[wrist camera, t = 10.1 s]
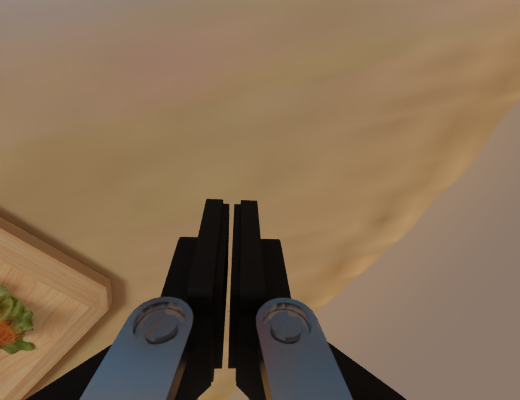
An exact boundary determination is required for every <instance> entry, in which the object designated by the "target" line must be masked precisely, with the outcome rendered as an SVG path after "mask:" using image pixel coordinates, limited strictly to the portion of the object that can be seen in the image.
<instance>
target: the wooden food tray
mask: <svg viewBox="0 0 520 400" xmlns="http://www.w3.org/2000/svg"><path fill="white" fill-rule="evenodd" d="M111 304H112V291H111V280H110V279H108V278H107V277H105V276H103V275H101V274H100V273H98V272H96V271H94V270H93V269H91V268H89V267H87V266H86V265H84V264H82V263H80V262H79V261H77V260H75V259H73V258H72V257H70V256H68V255H66V254H65V253H63V252H61V251H59V250H58V249H56V248H54V247H53V246H51V245H49V244H47V243H46V242H44V241H42V240H40V239H39V238H37V237H35V236H33V235H32V234H30V233H28V232H26V231H25V230H23V229H21V228H19V227H18V226H16V225H14V224H12V223H11V222H9V221H7V220H5V219H4V218H2V217H0V400H21V399H22V398H23V397H24V396H25V395H26V393H27V392H28V391H29V390H30V389H31V388H32V387H33V386H34V385H35V384H36V383H37V382H38V381H39V380H40V379H41V378H42V377H43V376H44V375H45V374H46V373H47V372H48V371H49V370H50V369H51V368H52V367H53V366H54V365H55V364H56V363H57V362H58V361H59V360H60V359H61V358H62V357H63V356H64V355H65V354H66V353H67V352H68V351H69V350H70V349H71V348H72V347H73V346H74V345H75V344H76V343H77V342H78V341H79V340H80V338H81V337H82V336H83V335H84V334H85V333H86V332H87V331H88V330H89V329H90V328H91V327H92V326H93V325H94V324H95V323H96V322H97V321H98V320H99V319H100V318H101V317H102V316H103V315H104V314H105V313H106V312H107V311H108V310H109V308H110V306H111Z"/></svg>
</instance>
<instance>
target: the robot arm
mask: <svg viewBox="0 0 520 400" xmlns="http://www.w3.org/2000/svg"><path fill="white" fill-rule="evenodd" d="M228 243H229V204H223V200H221V199H206V203H205V208H204V212H203V217H202V221H201V226H200V230H199V235H198V237H180V238H179V240H178V243H177V246H176V249H175V253H174V256H173V259H172V262H171V265H170V269H169V272H168V275H167V278H166V281H165V284H164V288H163V291H162V294H161V297H159V298H154V299H151V300H149V301H147V302H145V303H143V304H141V305H140V306H139V307H137V308H136V309H135V310H134V311H133V312H132V313H131V315H130V316H129V317H128V319H127V320H126V322H125V324H124V325H123V327H122V329H121V331H120V332H119V334H118V336H117V337H116V339H115V341H114V342H113V344H112V345H110V346H108V347H107V348H105V349H104V350H102V351H101V352H99V353H98V354H96V355H94V356H93V357H91V358H90V359H88V360H87V361H85V362H83V363H82V364H80V365H79V366H77V367H76V368H74V369H72V370H71V371H69V372H68V373H66V374H65V375H63V376H62V377H60V378H58V379H57V380H55V381H54V382H52V383H51V384H49V385H47V386H46V387H44V388H43V389H41V390H40V391H38V392H37V393H35V394H33V395H32V396H30V397H29V398H27V399H26V400H198V397H199V396H200V395H201V394H202V393H204V392H205V391H206V390H207V389H208V388H209V387H210V386H211V382H213V378H214V369H217V368H222V358H223V342H224V326H225V310H226V294H227V277H228ZM228 368H236V385H237V386H238V387H239V389H241V391H242V392H244V394H245V395H246V396H247V397H248V398H249V400H406V399H405V398H404V397H403V396H401V395H400V394H398V393H397V392H396V391H394V390H393V389H392V388H390V387H389V386H387V385H386V384H385V383H383V382H382V381H381V380H379V379H378V378H376V377H375V376H374V375H372V374H371V373H370V372H368V371H367V370H366V369H364V368H363V367H362V366H360V365H359V364H357V363H356V362H355V361H353V360H352V359H351V358H349V357H348V356H346V355H345V354H344V353H342V352H341V351H340V350H338V349H337V348H335V347H334V346H333V345H331V344H330V343H328V342H327V340H326V338H325V336H324V333H323V331H322V329H321V326H320V324H319V322H318V320H317V318H316V316H315V314H314V313H313V311H312V310H311V309H310V308H309V307H307V306H306V305H305V304H303V303H301V302H299V301H298V300H294V299H291V295H290V290H289V285H288V279H287V274H286V269H285V263H284V258H283V253H282V247H281V242H280V240H279V239H261V238H260V227H259V216H258V205H257V201H249V200H241V204H234V225H233V247H232V268H231V291H230V325H229V359H228Z"/></svg>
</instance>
